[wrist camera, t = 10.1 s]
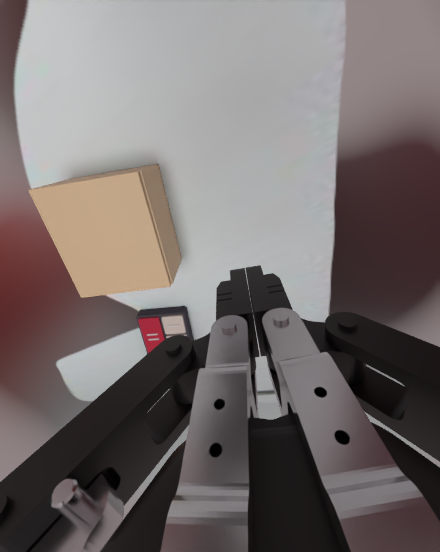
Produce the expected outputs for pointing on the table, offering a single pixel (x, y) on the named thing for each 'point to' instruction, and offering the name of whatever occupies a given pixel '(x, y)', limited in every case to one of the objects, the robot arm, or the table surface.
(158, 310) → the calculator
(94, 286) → the lid
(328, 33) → the table surface
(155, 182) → the box
